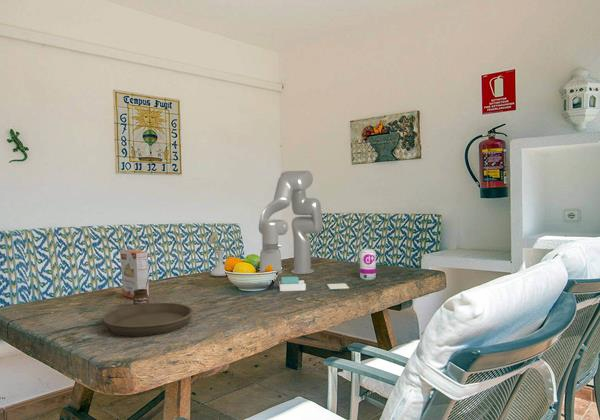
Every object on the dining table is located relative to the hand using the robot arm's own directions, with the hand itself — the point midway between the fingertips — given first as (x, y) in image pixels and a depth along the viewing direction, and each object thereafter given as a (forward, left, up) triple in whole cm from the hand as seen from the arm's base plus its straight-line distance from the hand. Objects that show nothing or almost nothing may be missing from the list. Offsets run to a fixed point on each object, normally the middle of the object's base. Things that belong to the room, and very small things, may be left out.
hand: (271, 285), depth 228 cm
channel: (0, +10, -2) cm, 10 cm away
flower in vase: (-40, -27, -2) cm, 48 cm away
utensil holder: (+25, -54, -2) cm, 60 cm away
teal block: (0, +9, -2) cm, 9 cm away
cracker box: (+6, -61, -2) cm, 61 cm away
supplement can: (-19, +51, -2) cm, 54 cm away
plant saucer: (+52, -45, -2) cm, 69 cm away
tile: (-1, +32, -2) cm, 32 cm away
